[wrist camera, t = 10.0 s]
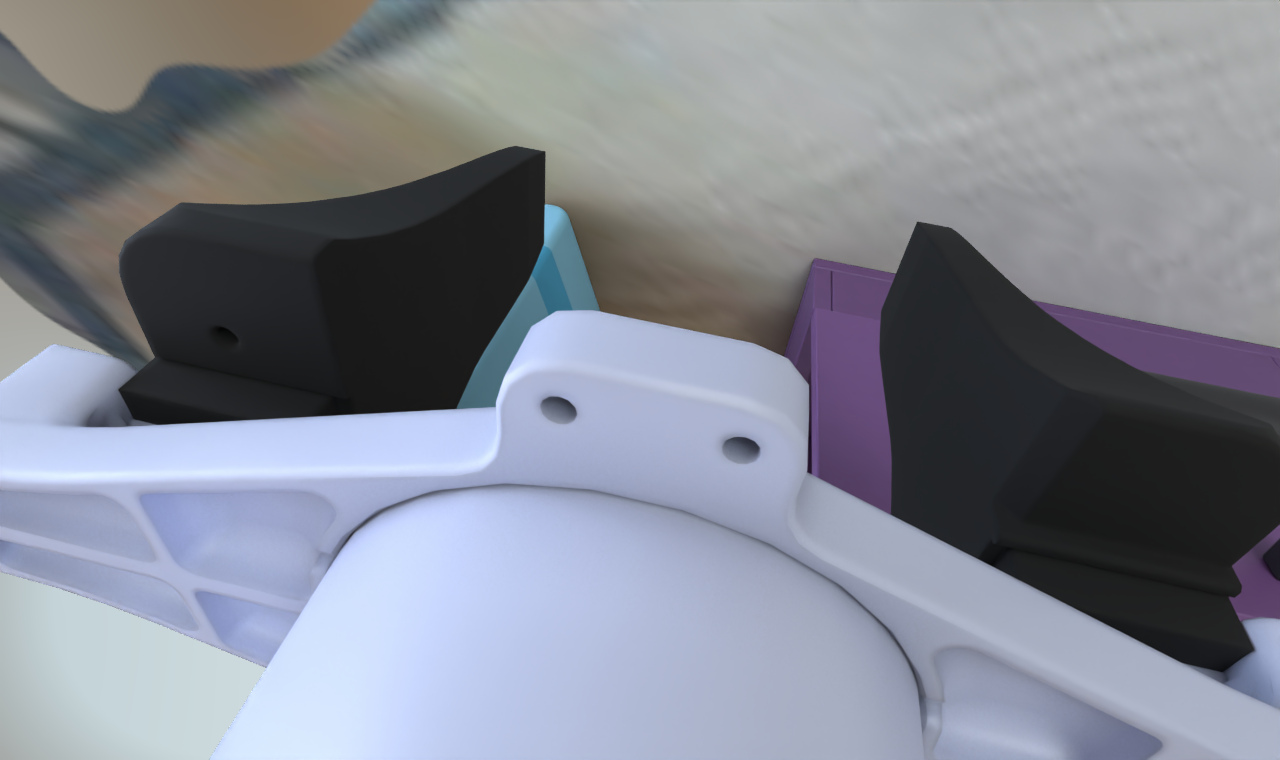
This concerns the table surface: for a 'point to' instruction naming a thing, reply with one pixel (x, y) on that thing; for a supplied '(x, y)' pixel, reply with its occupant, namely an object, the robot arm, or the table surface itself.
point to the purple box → (1114, 335)
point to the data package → (534, 306)
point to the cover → (861, 450)
